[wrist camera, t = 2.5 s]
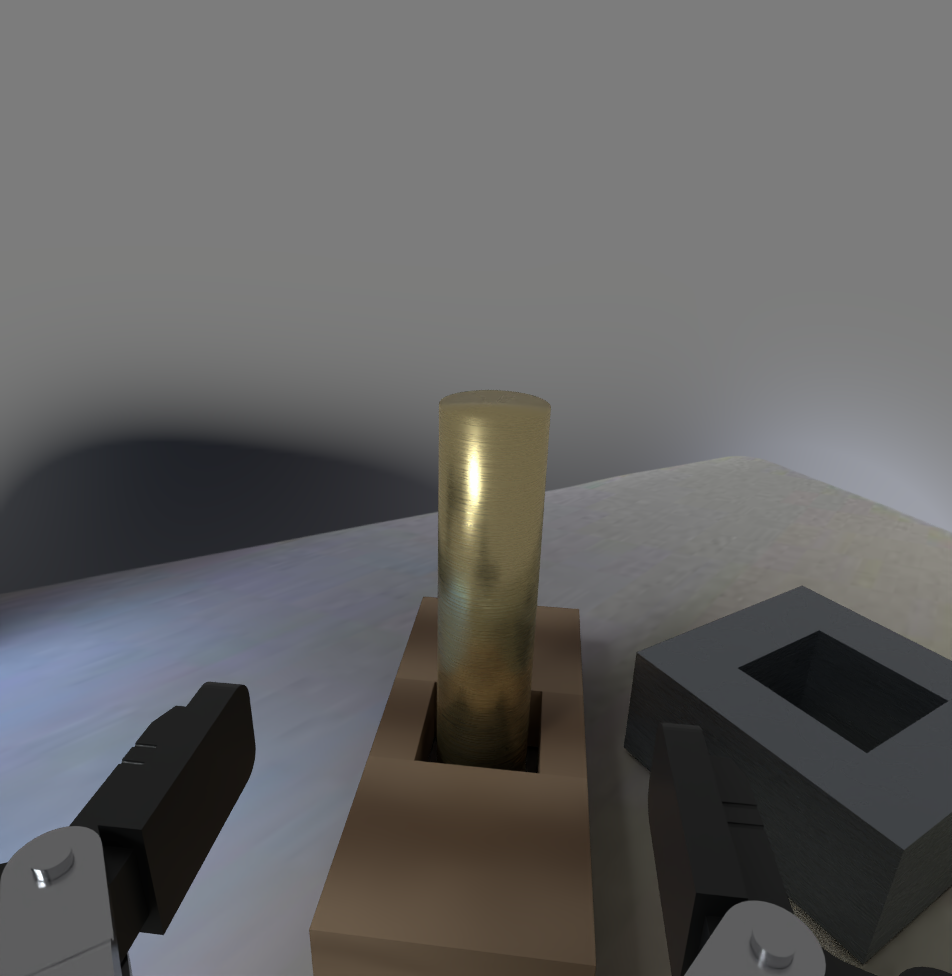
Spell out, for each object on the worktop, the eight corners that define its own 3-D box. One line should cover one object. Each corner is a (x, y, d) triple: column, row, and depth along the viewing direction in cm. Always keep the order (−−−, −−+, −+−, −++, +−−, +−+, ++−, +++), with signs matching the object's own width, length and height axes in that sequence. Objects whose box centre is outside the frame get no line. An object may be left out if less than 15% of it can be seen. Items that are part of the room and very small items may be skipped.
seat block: (623, 747, 31) (636, 652, 29) (782, 669, 36) (802, 585, 34) (863, 964, 22) (904, 850, 20) (1023, 820, 28) (1068, 719, 26)
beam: (586, 1034, 20) (596, 965, 19) (315, 998, 21) (309, 929, 20) (574, 658, 37) (578, 609, 36) (423, 645, 37) (423, 596, 36)
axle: (420, 769, 29) (419, 397, 23) (493, 738, 31) (509, 385, 25) (465, 831, 27) (476, 427, 20) (541, 794, 28) (573, 411, 22)
